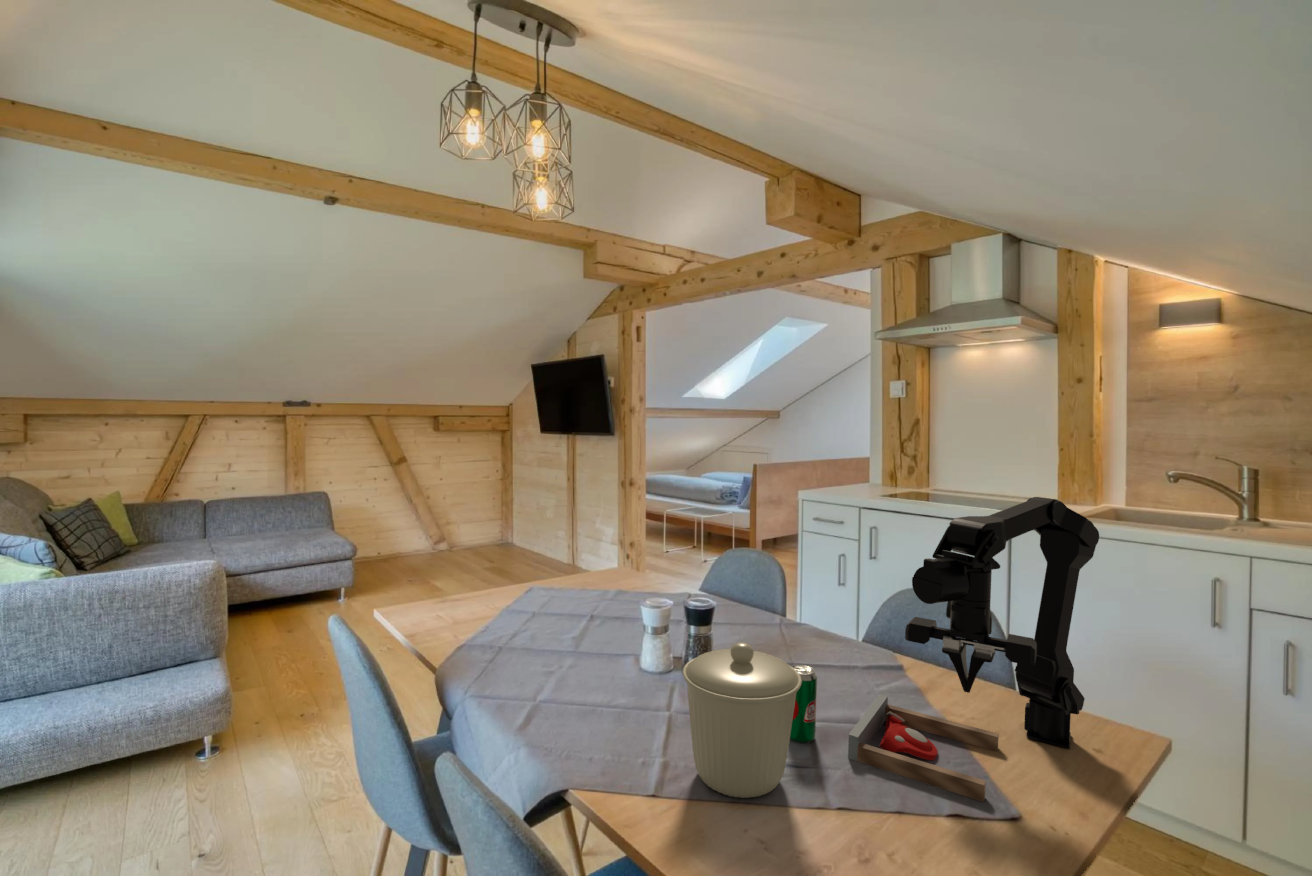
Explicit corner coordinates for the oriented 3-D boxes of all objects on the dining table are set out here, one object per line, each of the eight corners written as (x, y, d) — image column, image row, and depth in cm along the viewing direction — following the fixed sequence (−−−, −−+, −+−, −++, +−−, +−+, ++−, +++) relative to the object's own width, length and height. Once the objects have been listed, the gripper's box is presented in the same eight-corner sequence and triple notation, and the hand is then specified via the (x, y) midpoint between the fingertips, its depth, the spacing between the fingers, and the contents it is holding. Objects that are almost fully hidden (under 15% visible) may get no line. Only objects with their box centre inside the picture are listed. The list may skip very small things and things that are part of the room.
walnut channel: (998, 747, 108) (998, 733, 108) (983, 801, 93) (984, 785, 93) (887, 717, 119) (887, 704, 119) (857, 761, 103) (857, 746, 103)
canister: (663, 797, 92) (667, 654, 91) (698, 739, 109) (701, 618, 108) (789, 827, 86) (793, 674, 85) (805, 761, 103) (809, 633, 102)
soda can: (809, 747, 107) (811, 677, 107) (781, 738, 110) (783, 670, 109) (819, 735, 111) (821, 668, 111) (791, 727, 114) (793, 661, 114)
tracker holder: (952, 749, 106) (915, 750, 101) (941, 772, 106) (904, 774, 101) (896, 704, 116) (860, 702, 111) (887, 725, 117) (850, 724, 112)
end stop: (887, 717, 119) (887, 696, 119) (857, 761, 103) (858, 737, 103) (878, 714, 120) (879, 694, 119) (848, 758, 104) (848, 734, 104)
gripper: (1040, 595, 104) (1036, 689, 104) (920, 577, 114) (917, 662, 115) (1036, 612, 95) (1032, 714, 95) (906, 591, 105) (902, 683, 106)
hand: (967, 691), depth 103 cm, fingers closed
